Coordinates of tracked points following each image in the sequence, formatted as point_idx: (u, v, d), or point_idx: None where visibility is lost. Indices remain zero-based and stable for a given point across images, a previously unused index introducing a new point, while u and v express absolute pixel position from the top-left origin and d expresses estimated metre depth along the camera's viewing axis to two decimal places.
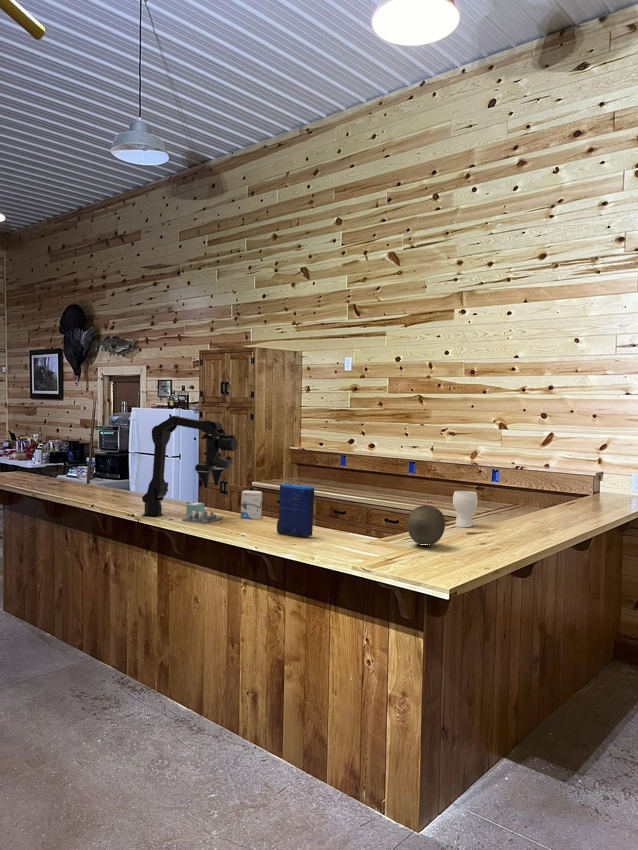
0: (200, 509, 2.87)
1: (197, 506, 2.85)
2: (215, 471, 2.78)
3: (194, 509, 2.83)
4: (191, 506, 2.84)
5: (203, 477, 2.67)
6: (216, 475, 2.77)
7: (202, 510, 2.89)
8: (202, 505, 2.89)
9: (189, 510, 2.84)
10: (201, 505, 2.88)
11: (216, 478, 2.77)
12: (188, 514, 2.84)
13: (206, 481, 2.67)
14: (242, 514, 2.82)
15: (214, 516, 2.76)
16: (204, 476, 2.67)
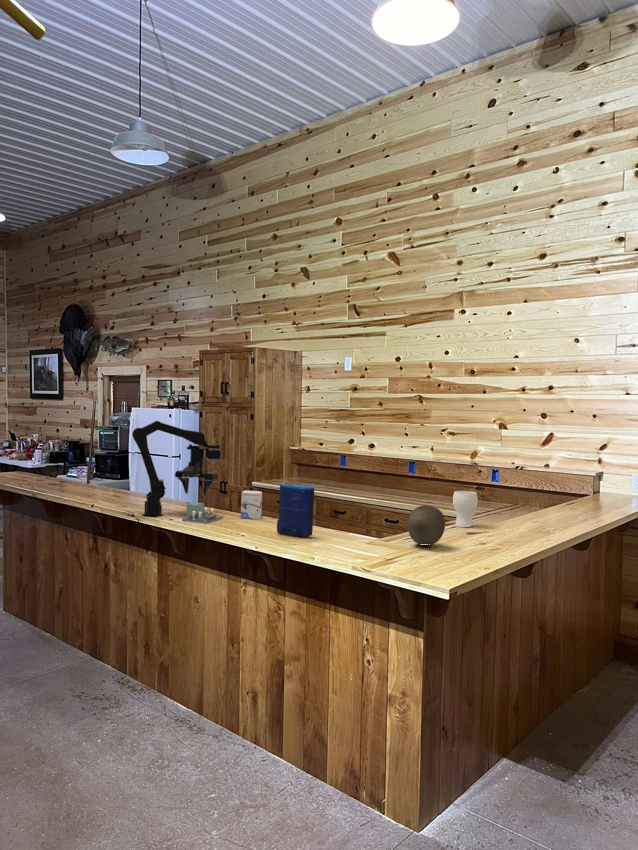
0: (200, 509, 2.87)
1: (197, 506, 2.85)
2: None
3: (194, 509, 2.83)
4: (191, 506, 2.84)
5: None
6: None
7: (202, 510, 2.89)
8: (202, 505, 2.89)
9: (189, 510, 2.84)
10: (201, 505, 2.88)
11: None
12: (188, 514, 2.84)
13: None
14: (242, 514, 2.82)
15: (214, 516, 2.76)
16: None
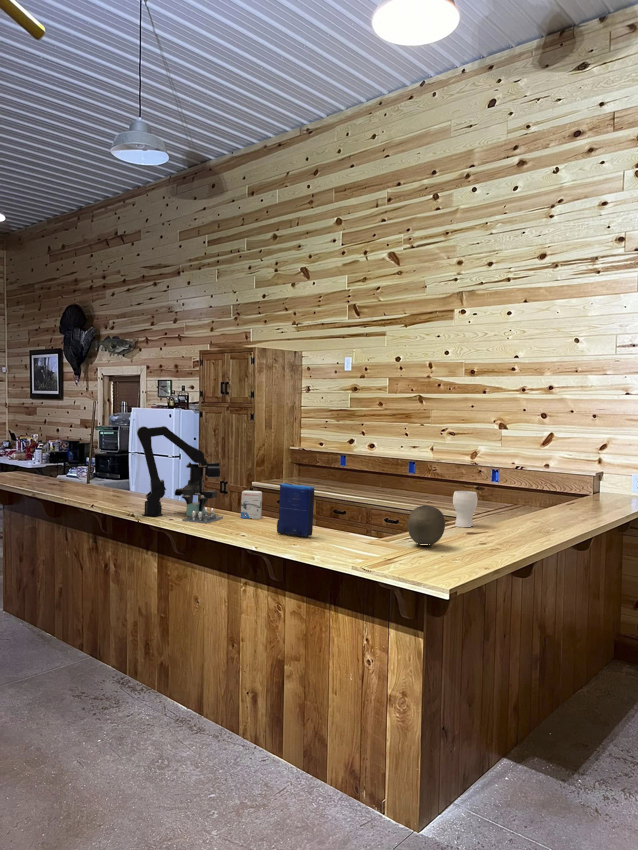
0: None
1: (197, 506, 2.85)
2: None
3: (194, 509, 2.83)
4: (191, 506, 2.84)
5: None
6: None
7: (202, 510, 2.89)
8: None
9: (189, 510, 2.84)
10: None
11: None
12: (188, 514, 2.84)
13: None
14: (242, 514, 2.82)
15: (214, 516, 2.76)
16: None
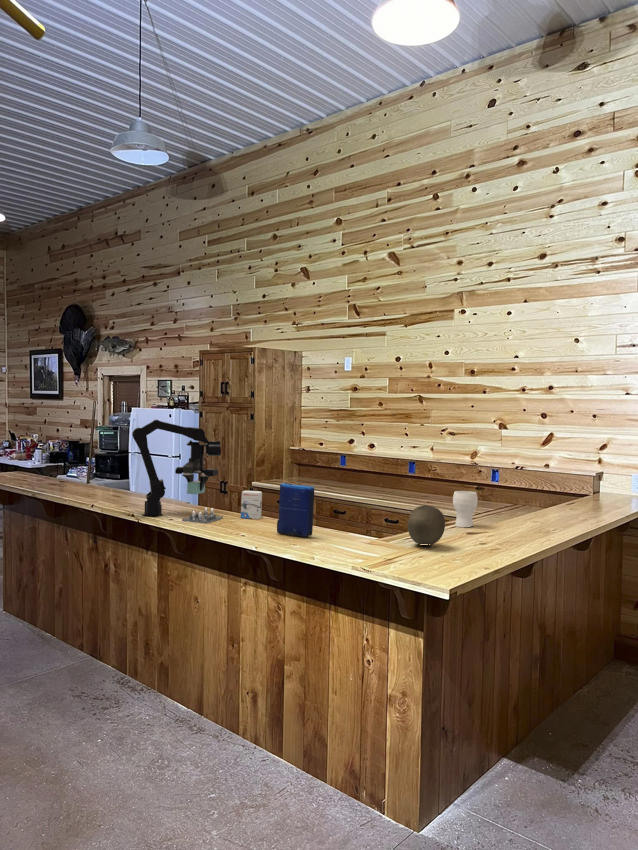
0: None
1: (198, 484, 2.85)
2: None
3: (195, 487, 2.83)
4: (192, 484, 2.83)
5: None
6: None
7: (203, 488, 2.89)
8: None
9: (190, 488, 2.84)
10: None
11: None
12: (189, 492, 2.84)
13: None
14: (242, 514, 2.82)
15: (214, 516, 2.76)
16: None
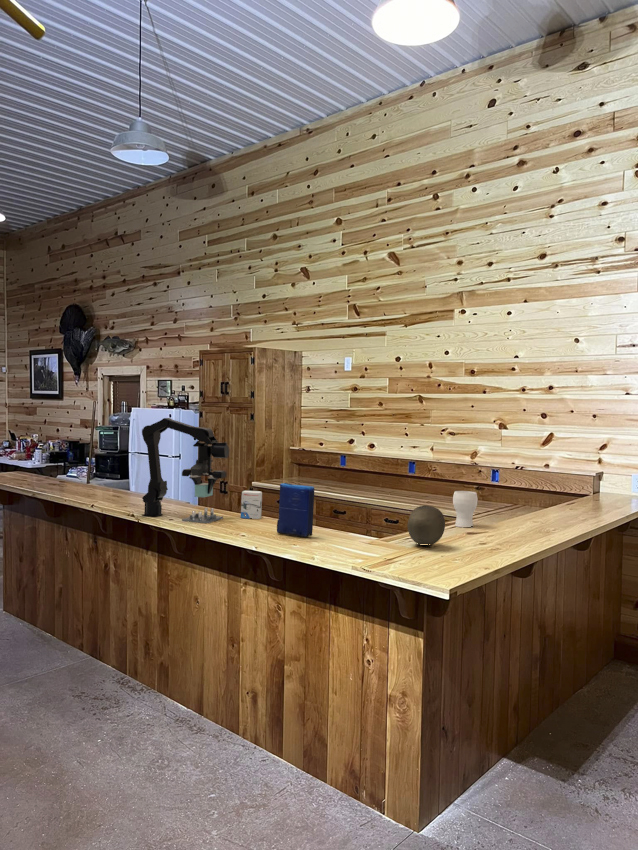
0: None
1: (206, 486, 2.74)
2: None
3: (203, 489, 2.72)
4: (200, 486, 2.72)
5: None
6: None
7: (211, 491, 2.78)
8: None
9: (197, 490, 2.73)
10: None
11: None
12: (196, 495, 2.73)
13: None
14: (242, 514, 2.82)
15: (214, 516, 2.76)
16: None
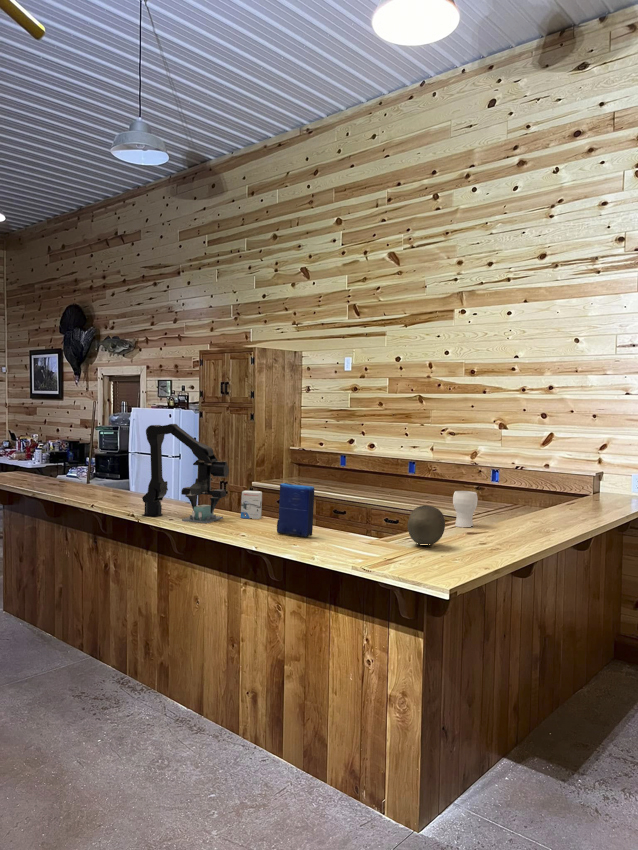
0: (208, 511, 2.76)
1: (205, 508, 2.73)
2: None
3: (202, 511, 2.71)
4: (198, 508, 2.72)
5: None
6: None
7: (210, 512, 2.77)
8: (210, 507, 2.77)
9: (196, 513, 2.72)
10: (209, 507, 2.76)
11: None
12: (195, 517, 2.72)
13: None
14: (242, 514, 2.82)
15: (214, 516, 2.76)
16: None
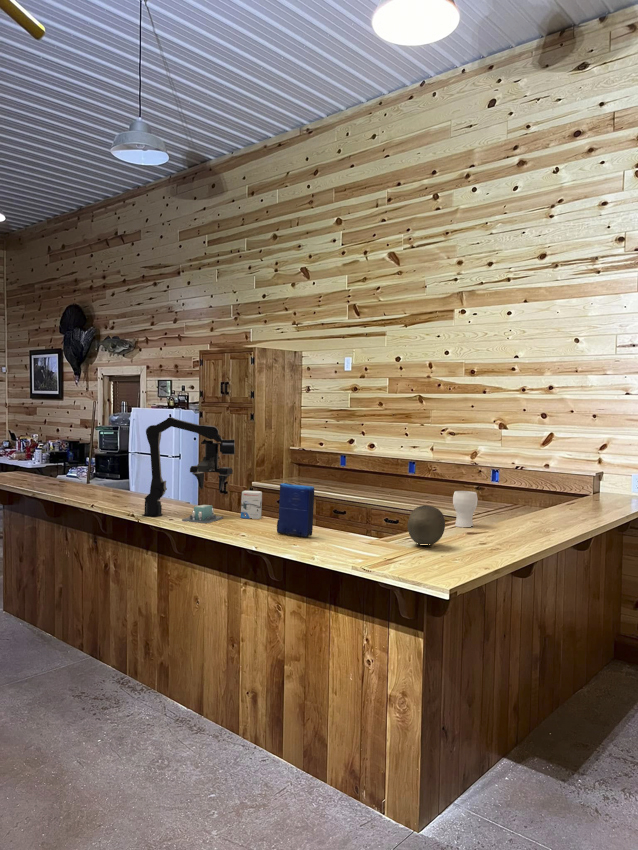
0: (208, 511, 2.76)
1: (205, 508, 2.73)
2: None
3: (202, 511, 2.71)
4: (198, 508, 2.72)
5: None
6: None
7: (210, 512, 2.77)
8: (210, 507, 2.77)
9: (196, 513, 2.72)
10: (209, 507, 2.76)
11: None
12: (195, 517, 2.72)
13: None
14: (242, 514, 2.82)
15: (214, 516, 2.76)
16: None
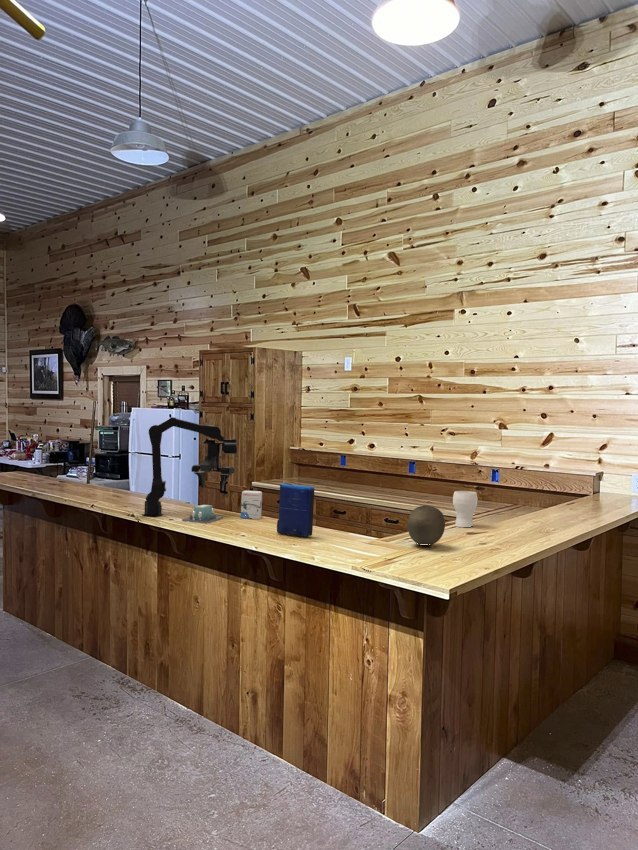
0: (208, 511, 2.76)
1: (205, 508, 2.73)
2: None
3: (202, 511, 2.71)
4: (198, 508, 2.72)
5: None
6: None
7: (210, 512, 2.77)
8: (210, 507, 2.77)
9: (196, 513, 2.72)
10: (209, 507, 2.76)
11: None
12: (195, 517, 2.72)
13: None
14: (242, 514, 2.82)
15: (214, 516, 2.76)
16: None
